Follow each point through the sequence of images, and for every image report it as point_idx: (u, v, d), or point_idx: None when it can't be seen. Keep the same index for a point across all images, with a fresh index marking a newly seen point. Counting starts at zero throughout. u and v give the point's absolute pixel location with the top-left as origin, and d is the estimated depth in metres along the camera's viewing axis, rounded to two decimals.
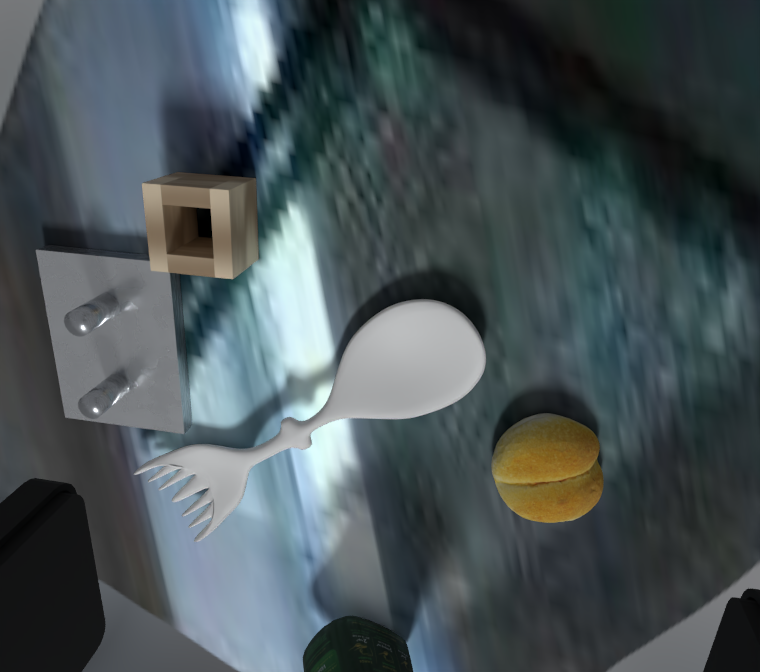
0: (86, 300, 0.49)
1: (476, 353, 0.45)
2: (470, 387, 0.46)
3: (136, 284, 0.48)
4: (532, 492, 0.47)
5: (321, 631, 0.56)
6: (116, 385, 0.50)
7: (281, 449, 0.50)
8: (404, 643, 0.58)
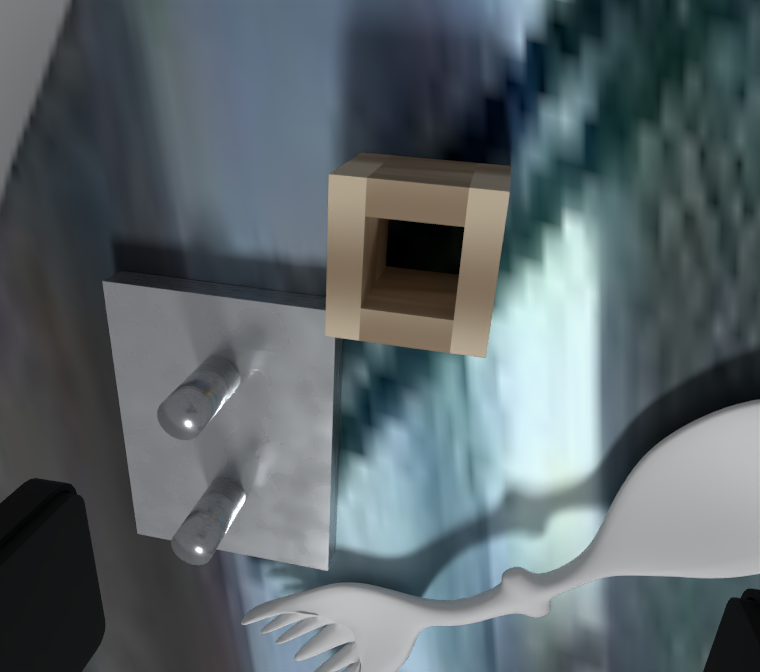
0: (184, 365, 0.30)
1: None
2: None
3: (273, 344, 0.28)
4: None
5: None
6: (229, 502, 0.31)
7: (498, 615, 0.30)
8: None
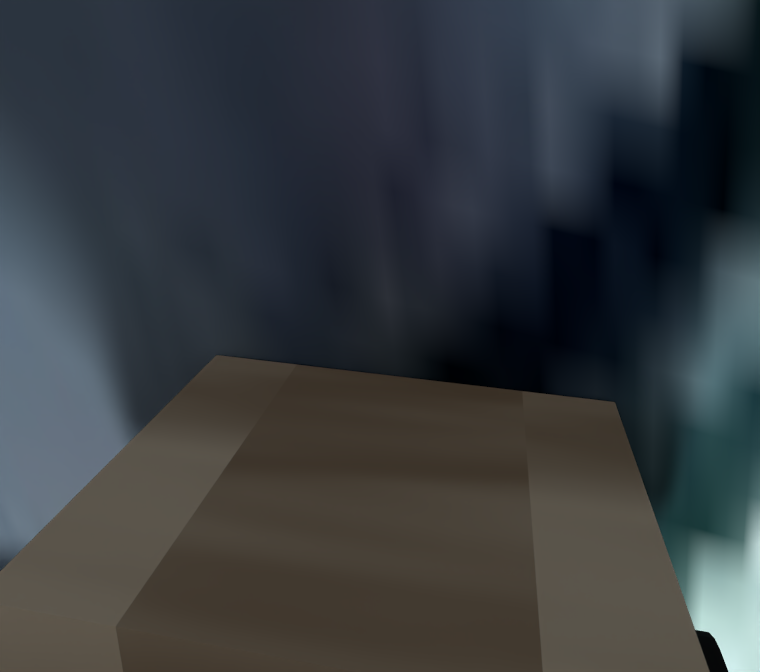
0: None
1: None
2: None
3: None
4: None
5: None
6: None
7: None
8: None
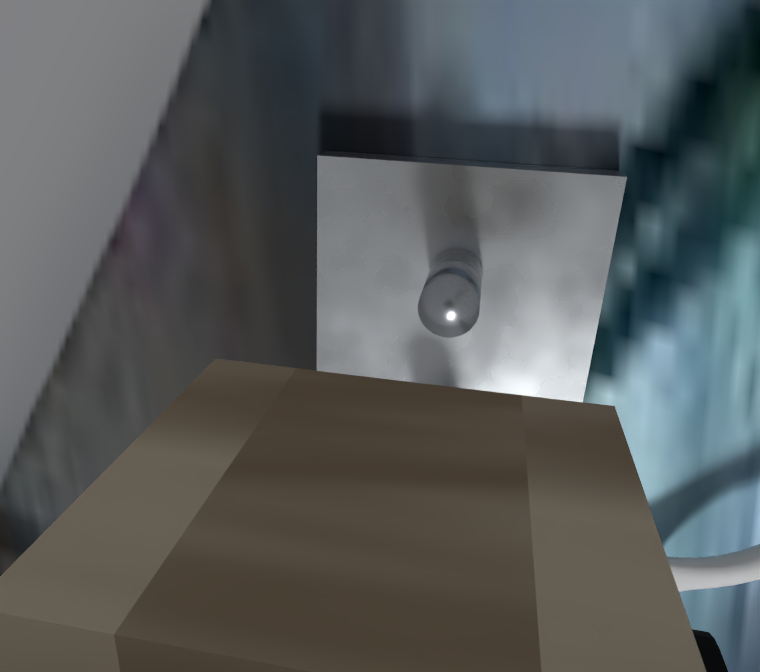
0: (410, 263, 0.24)
1: None
2: None
3: (534, 227, 0.23)
4: None
5: None
6: None
7: None
8: None
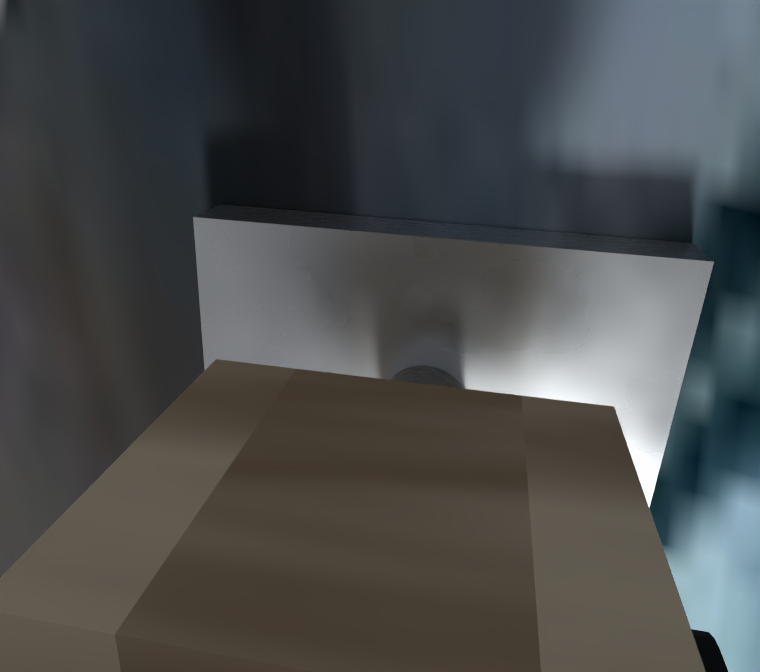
0: None
1: None
2: None
3: (552, 338, 0.14)
4: None
5: None
6: None
7: None
8: None
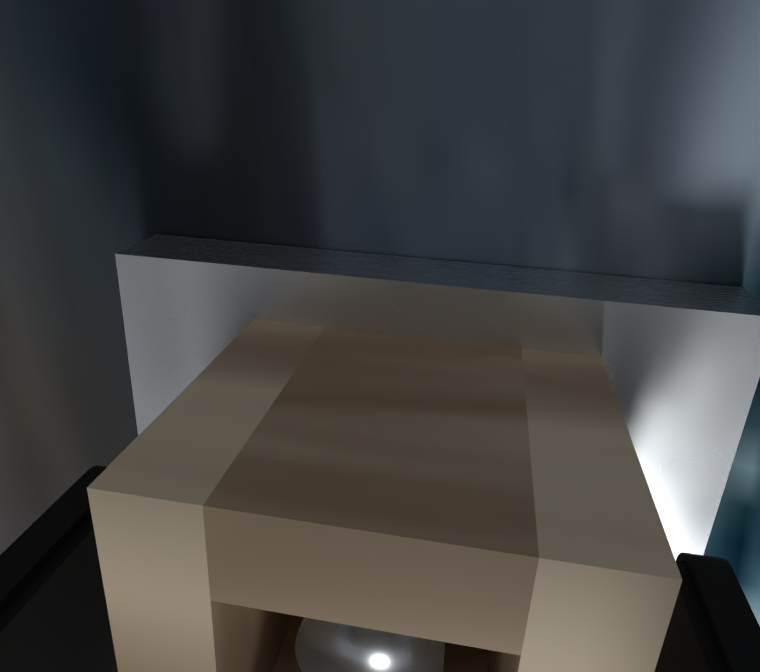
0: None
1: None
2: None
3: None
4: None
5: None
6: None
7: None
8: None
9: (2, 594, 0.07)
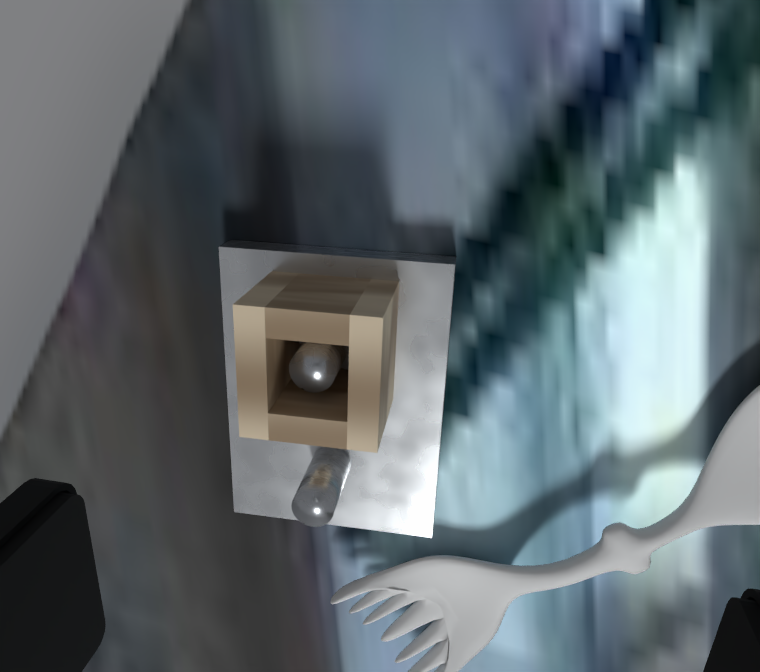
0: None
1: None
2: None
3: None
4: None
5: None
6: (339, 466, 0.31)
7: (598, 573, 0.31)
8: None
9: None
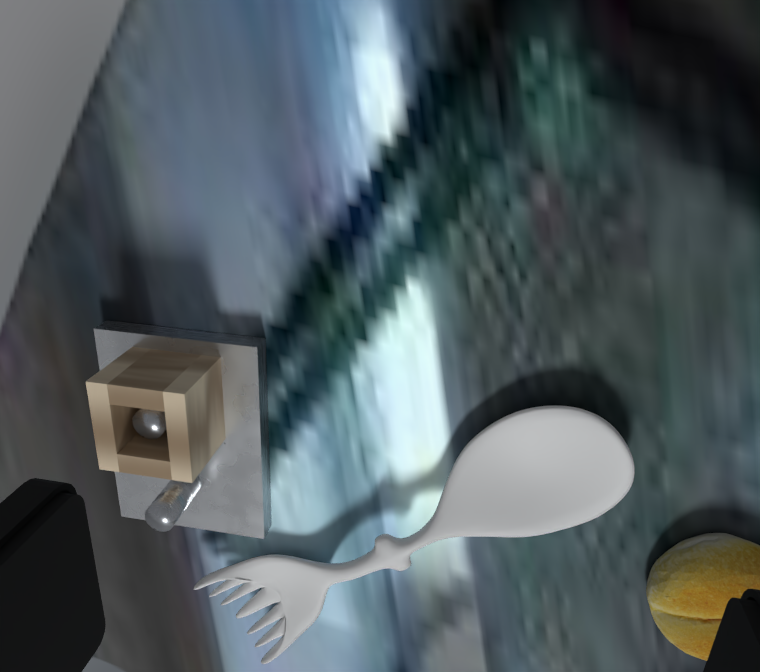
0: None
1: (624, 470, 0.37)
2: (610, 506, 0.39)
3: None
4: (704, 629, 0.39)
5: None
6: (187, 486, 0.42)
7: (374, 570, 0.42)
8: None
9: None
